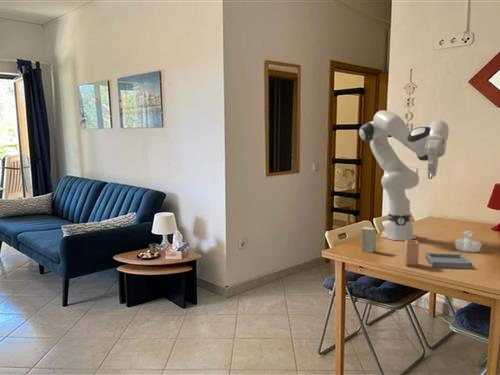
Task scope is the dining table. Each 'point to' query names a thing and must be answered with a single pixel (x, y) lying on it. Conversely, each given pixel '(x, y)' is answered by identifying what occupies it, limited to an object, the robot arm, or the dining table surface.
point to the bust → (468, 243)
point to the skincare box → (368, 239)
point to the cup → (411, 253)
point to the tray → (448, 260)
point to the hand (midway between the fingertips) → (430, 171)
